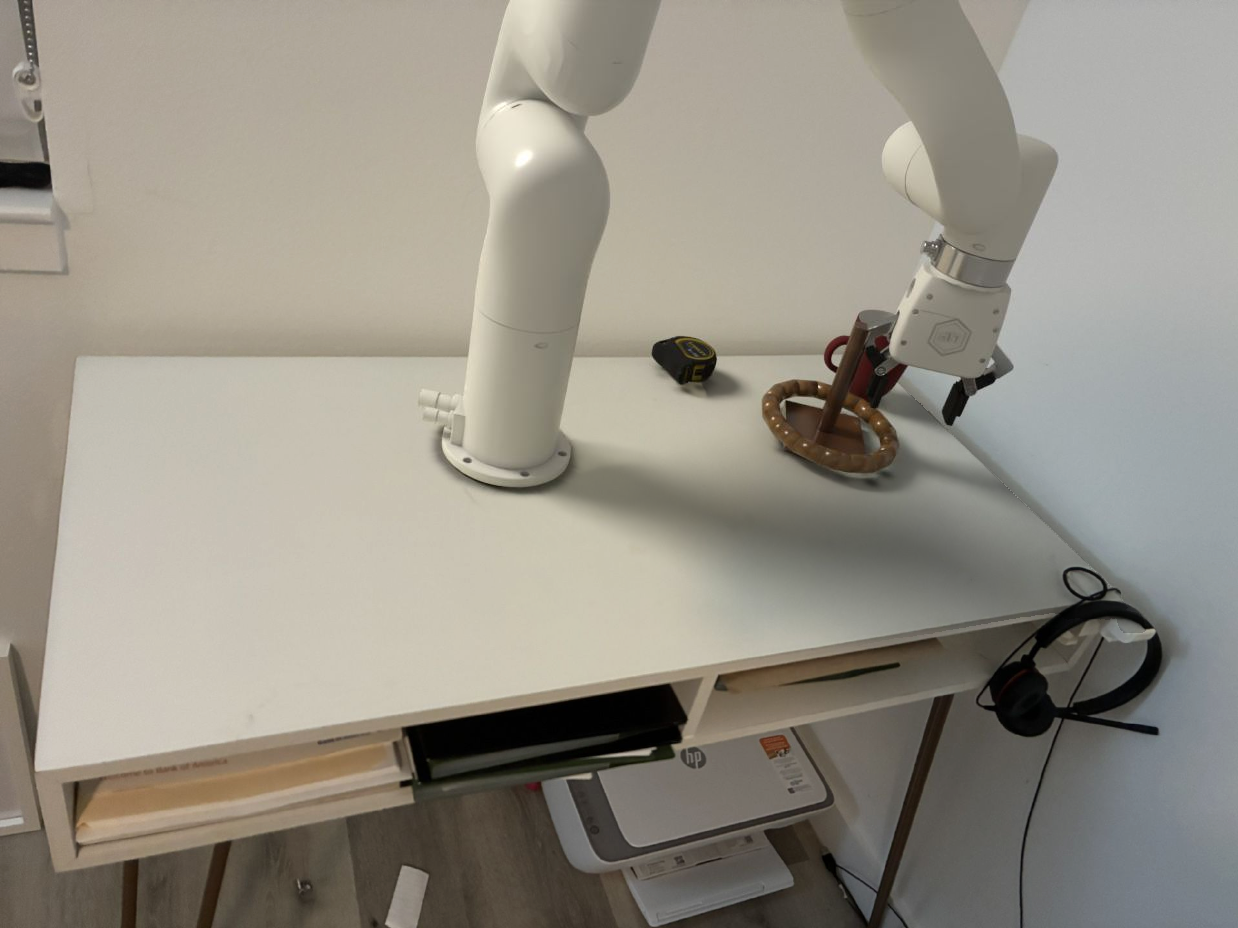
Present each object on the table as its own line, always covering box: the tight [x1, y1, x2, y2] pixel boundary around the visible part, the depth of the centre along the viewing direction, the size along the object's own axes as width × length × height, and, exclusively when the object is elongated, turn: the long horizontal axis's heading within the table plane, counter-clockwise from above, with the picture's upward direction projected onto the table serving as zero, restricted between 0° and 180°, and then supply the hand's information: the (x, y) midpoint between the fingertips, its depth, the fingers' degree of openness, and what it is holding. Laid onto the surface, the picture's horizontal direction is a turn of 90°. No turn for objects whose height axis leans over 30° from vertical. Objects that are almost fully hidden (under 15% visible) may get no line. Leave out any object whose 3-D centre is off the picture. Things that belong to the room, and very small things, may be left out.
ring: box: [761, 379, 901, 474], centre depth 103 cm, size 16×16×2 cm
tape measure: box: [651, 335, 718, 386], centre depth 110 cm, size 7×7×4 cm
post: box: [781, 322, 871, 455], centre depth 101 cm, size 9×9×14 cm
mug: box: [823, 309, 909, 404], centre depth 113 cm, size 11×8×10 cm
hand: (909, 410), depth 101 cm, fingers open, 7 cm apart
